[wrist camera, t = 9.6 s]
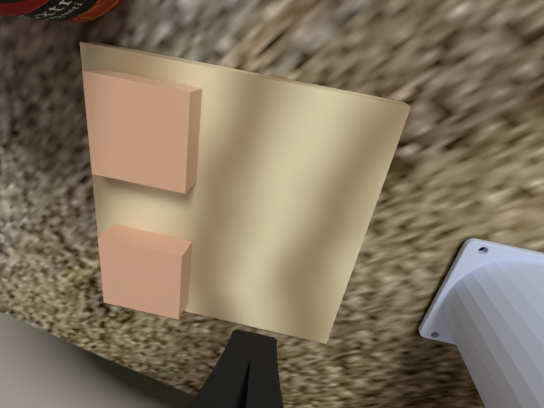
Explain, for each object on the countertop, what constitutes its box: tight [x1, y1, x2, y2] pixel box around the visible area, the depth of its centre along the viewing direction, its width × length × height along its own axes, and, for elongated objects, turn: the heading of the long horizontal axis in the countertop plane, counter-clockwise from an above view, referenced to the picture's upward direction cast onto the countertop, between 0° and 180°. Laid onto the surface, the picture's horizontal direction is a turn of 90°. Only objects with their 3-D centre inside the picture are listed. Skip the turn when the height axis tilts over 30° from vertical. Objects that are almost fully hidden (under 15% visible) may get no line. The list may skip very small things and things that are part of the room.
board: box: [80, 42, 411, 344], centre depth 19 cm, size 16×16×2 cm
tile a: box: [82, 69, 202, 194], centre depth 16 cm, size 2×5×5 cm
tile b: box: [98, 224, 192, 320], centre depth 20 cm, size 2×5×5 cm
